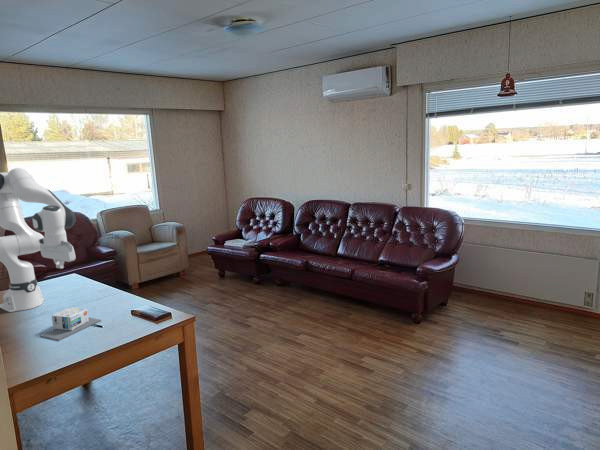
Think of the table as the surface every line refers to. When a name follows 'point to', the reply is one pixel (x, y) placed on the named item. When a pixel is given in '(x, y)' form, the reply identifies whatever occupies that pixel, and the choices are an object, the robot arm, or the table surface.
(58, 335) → the pad
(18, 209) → the robot arm
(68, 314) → the light bulb box
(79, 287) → the table surface
